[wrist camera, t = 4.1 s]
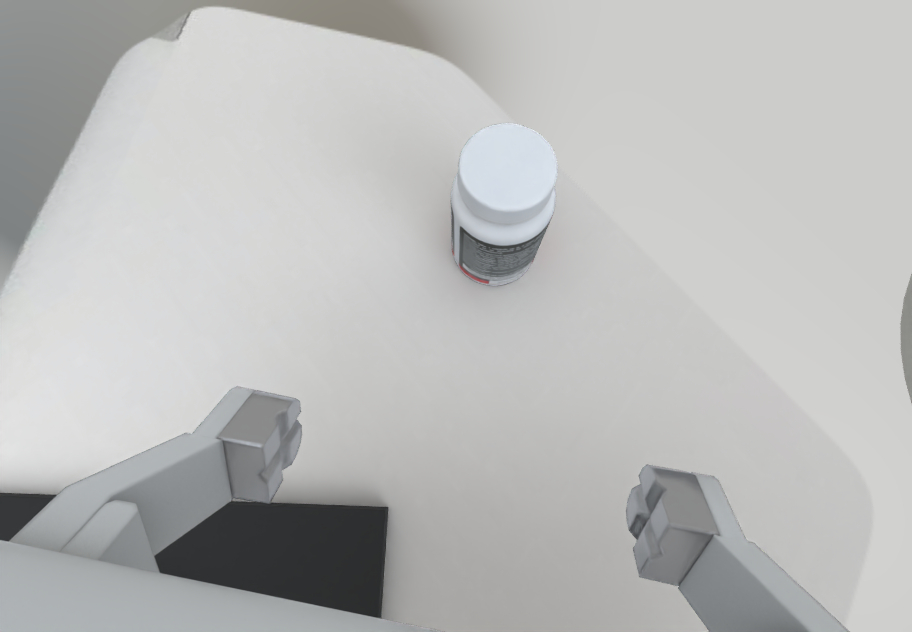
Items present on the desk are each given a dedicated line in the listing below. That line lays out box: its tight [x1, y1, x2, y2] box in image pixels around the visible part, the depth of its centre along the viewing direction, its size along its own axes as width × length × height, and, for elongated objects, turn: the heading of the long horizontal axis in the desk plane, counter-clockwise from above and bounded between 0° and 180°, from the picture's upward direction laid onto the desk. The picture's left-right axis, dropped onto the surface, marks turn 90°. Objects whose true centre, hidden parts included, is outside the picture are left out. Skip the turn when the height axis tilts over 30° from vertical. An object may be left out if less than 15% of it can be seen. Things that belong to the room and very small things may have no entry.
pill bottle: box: [451, 123, 558, 286], centre depth 23 cm, size 5×5×8 cm
